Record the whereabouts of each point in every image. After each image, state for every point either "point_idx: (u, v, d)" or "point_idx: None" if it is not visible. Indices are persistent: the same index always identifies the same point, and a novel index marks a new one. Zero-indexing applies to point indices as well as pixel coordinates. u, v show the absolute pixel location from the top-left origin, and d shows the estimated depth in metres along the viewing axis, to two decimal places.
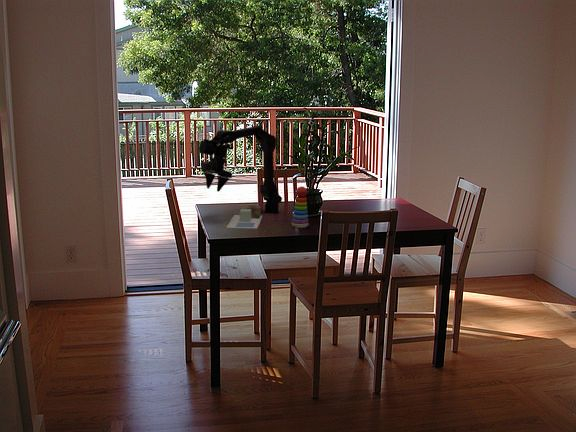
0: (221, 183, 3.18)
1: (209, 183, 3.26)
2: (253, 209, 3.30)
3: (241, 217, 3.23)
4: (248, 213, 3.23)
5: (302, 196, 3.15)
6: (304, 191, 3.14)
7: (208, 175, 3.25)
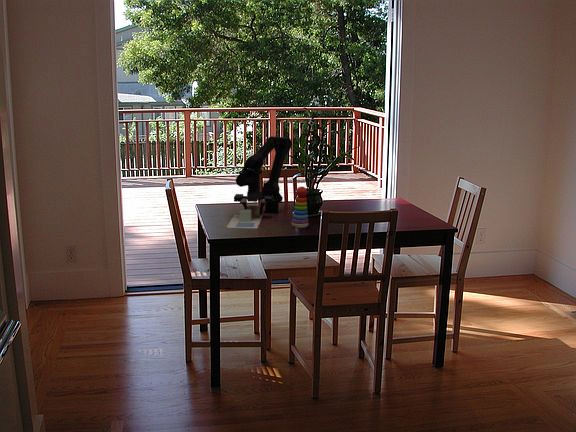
0: (262, 207, 3.32)
1: None
2: (253, 209, 3.30)
3: (241, 217, 3.23)
4: (248, 213, 3.23)
5: (302, 196, 3.15)
6: (304, 191, 3.14)
7: (246, 203, 3.31)
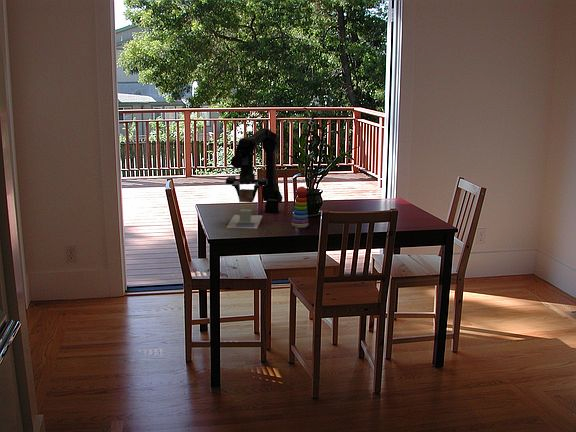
0: (256, 191, 3.17)
1: None
2: (246, 192, 3.14)
3: (241, 217, 3.23)
4: (248, 213, 3.23)
5: (302, 196, 3.15)
6: (304, 191, 3.14)
7: (238, 186, 3.16)
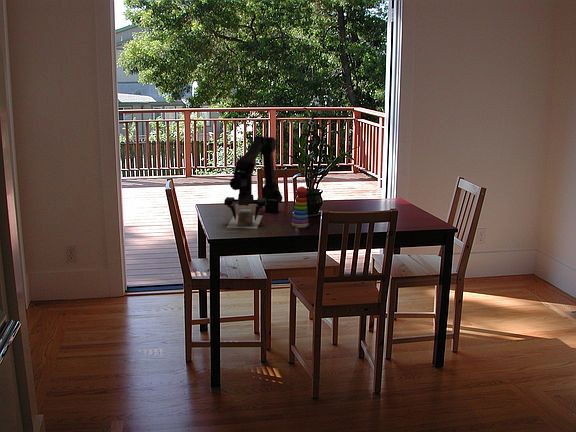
0: (258, 211, 3.16)
1: (235, 214, 3.17)
2: (244, 216, 3.13)
3: None
4: None
5: (302, 196, 3.15)
6: (304, 191, 3.14)
7: (234, 207, 3.15)
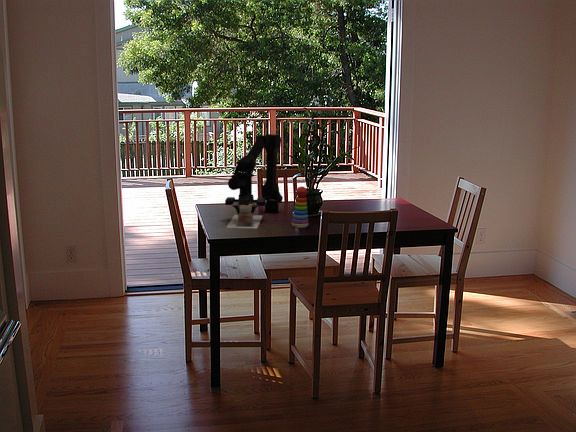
0: (253, 211, 3.25)
1: None
2: (244, 216, 3.13)
3: None
4: None
5: (302, 196, 3.15)
6: (304, 191, 3.14)
7: (238, 206, 3.24)
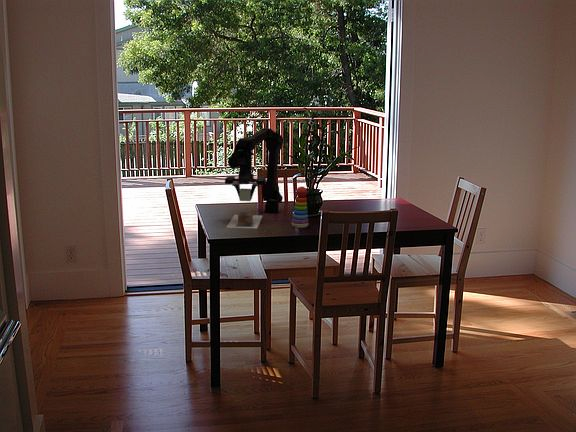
0: (253, 190, 3.22)
1: None
2: (244, 216, 3.13)
3: (241, 196, 3.21)
4: (248, 192, 3.20)
5: (302, 196, 3.15)
6: (304, 191, 3.14)
7: (238, 186, 3.21)
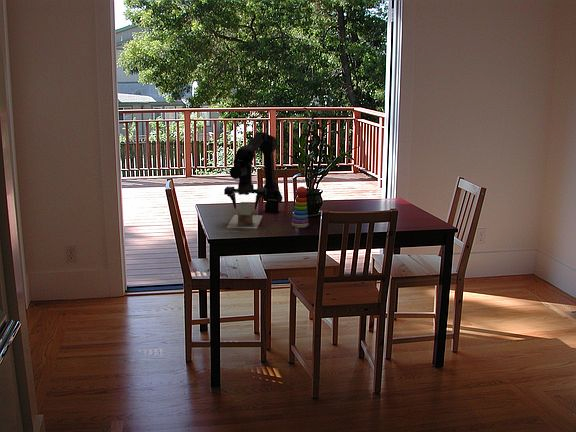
0: (258, 201, 3.14)
1: (235, 203, 3.15)
2: (244, 216, 3.13)
3: (241, 210, 3.13)
4: (248, 206, 3.13)
5: (302, 196, 3.15)
6: (304, 191, 3.14)
7: (234, 196, 3.14)
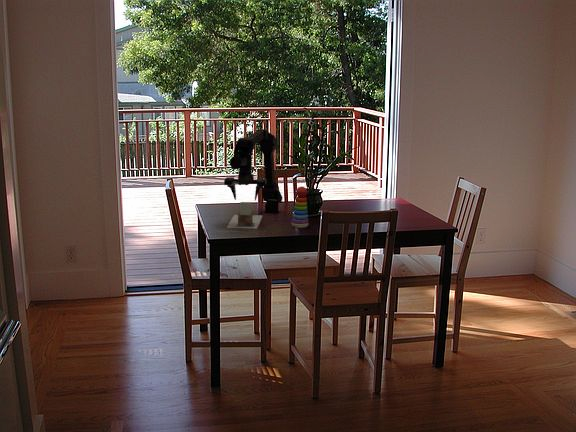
0: (258, 191, 3.13)
1: (235, 194, 3.14)
2: (244, 216, 3.13)
3: (241, 210, 3.13)
4: (248, 206, 3.13)
5: (302, 196, 3.15)
6: (304, 191, 3.14)
7: (234, 187, 3.13)
